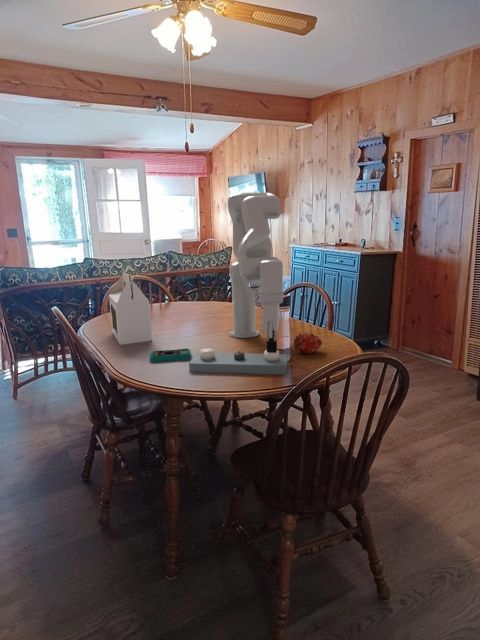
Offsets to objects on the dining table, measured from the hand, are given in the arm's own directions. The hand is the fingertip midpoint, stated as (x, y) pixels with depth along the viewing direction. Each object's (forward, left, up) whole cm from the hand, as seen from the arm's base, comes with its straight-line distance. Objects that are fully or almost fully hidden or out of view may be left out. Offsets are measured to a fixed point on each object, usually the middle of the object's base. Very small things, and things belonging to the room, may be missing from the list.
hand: (271, 351), depth 151 cm
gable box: (-36, -64, -6) cm, 74 cm away
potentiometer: (0, -11, -3) cm, 11 cm away
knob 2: (0, 0, -6) cm, 6 cm away
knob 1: (0, -22, -6) cm, 23 cm away
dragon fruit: (-18, +12, -6) cm, 23 cm away
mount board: (0, -11, -6) cm, 12 cm away
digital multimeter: (-8, -38, -6) cm, 39 cm away
